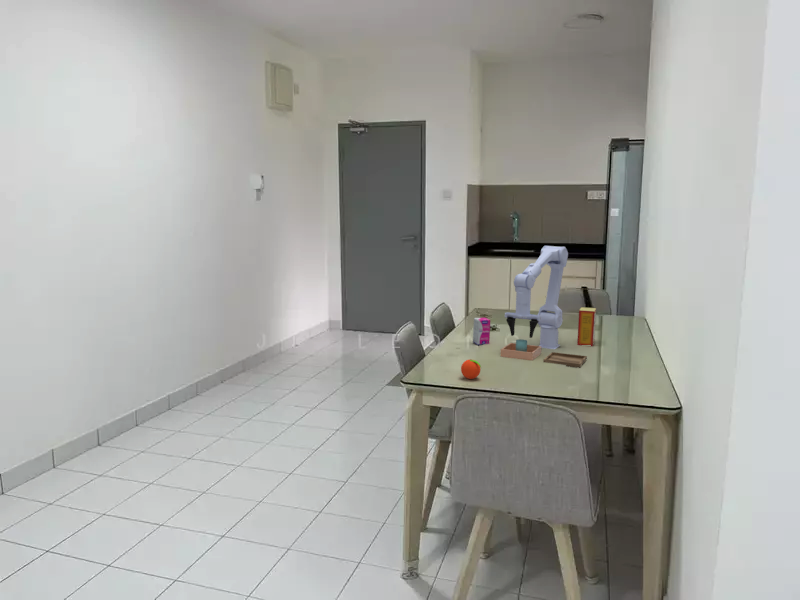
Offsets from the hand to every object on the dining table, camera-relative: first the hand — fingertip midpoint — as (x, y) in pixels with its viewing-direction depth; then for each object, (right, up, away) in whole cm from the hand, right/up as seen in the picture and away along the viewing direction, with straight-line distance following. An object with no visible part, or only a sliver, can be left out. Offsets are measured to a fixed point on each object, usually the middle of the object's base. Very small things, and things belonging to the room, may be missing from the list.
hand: (521, 336), depth 249 cm
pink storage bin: (0, -8, +1) cm, 8 cm away
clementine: (-24, -13, -32) cm, 42 cm away
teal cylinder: (0, -8, +1) cm, 8 cm away
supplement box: (-14, -5, +23) cm, 27 cm away
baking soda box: (+34, -5, +25) cm, 43 cm away
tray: (+16, -10, -7) cm, 20 cm away
